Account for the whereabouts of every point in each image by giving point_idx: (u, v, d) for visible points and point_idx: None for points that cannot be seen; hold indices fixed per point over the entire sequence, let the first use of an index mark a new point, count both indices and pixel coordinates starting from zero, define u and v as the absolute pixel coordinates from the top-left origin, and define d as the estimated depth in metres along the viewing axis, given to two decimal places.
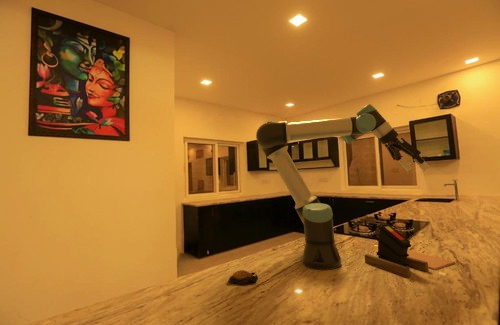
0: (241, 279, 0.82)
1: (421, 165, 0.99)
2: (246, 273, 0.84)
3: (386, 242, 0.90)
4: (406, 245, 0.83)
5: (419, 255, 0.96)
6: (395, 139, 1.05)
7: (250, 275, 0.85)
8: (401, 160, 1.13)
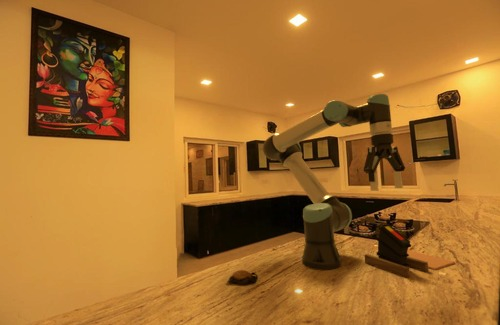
0: (241, 279, 0.82)
1: (371, 183, 0.89)
2: (246, 273, 0.84)
3: (386, 242, 0.90)
4: (406, 245, 0.83)
5: (419, 255, 0.96)
6: (375, 145, 0.91)
7: (250, 275, 0.85)
8: (396, 173, 0.94)
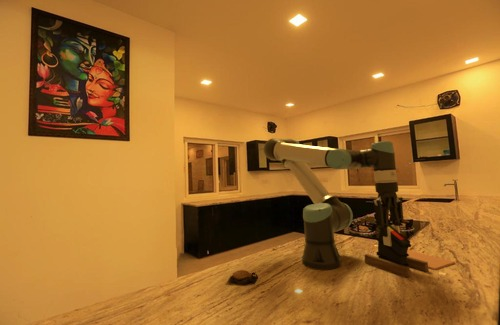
0: (240, 279, 0.82)
1: (384, 238, 0.89)
2: (246, 273, 0.84)
3: None
4: (406, 245, 0.83)
5: (419, 255, 0.96)
6: (379, 194, 0.89)
7: (250, 275, 0.85)
8: (394, 227, 0.90)
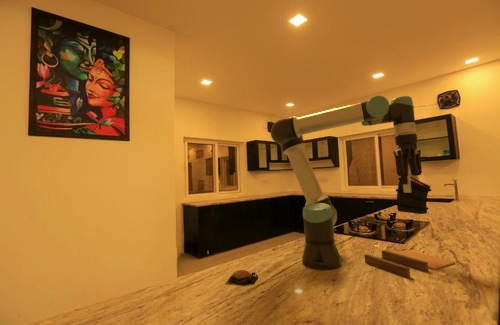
0: (240, 279, 0.83)
1: (404, 186, 0.95)
2: (246, 273, 0.84)
3: None
4: (427, 189, 0.89)
5: (419, 255, 0.96)
6: (400, 145, 0.95)
7: (250, 275, 0.85)
8: (413, 177, 0.97)
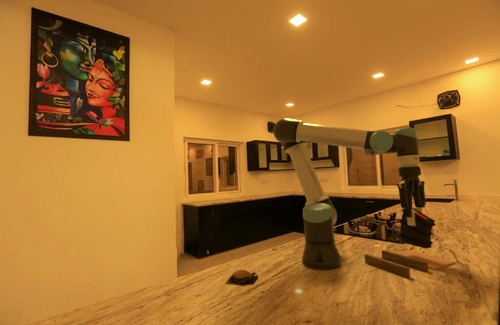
0: (240, 278, 0.83)
1: (408, 218, 0.94)
2: (246, 273, 0.84)
3: None
4: (431, 224, 0.88)
5: (419, 255, 0.96)
6: (403, 177, 0.95)
7: (250, 275, 0.85)
8: (417, 209, 0.96)
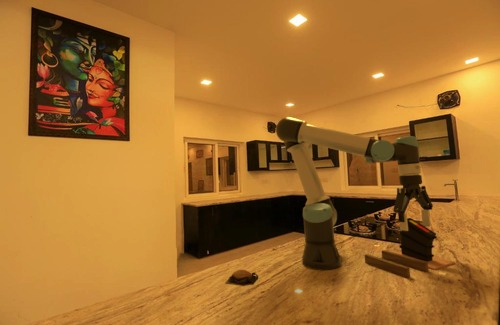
0: (240, 278, 0.83)
1: (400, 223, 0.93)
2: (245, 273, 0.84)
3: (411, 235, 0.95)
4: (433, 237, 0.88)
5: None
6: (404, 186, 0.94)
7: (250, 275, 0.85)
8: (424, 211, 0.97)
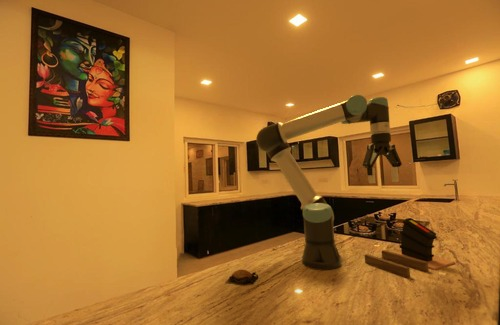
0: (239, 278, 0.83)
1: (369, 177, 1.00)
2: (245, 273, 0.84)
3: (411, 235, 0.95)
4: (433, 237, 0.88)
5: None
6: (374, 143, 1.02)
7: (250, 275, 0.85)
8: (393, 168, 1.05)
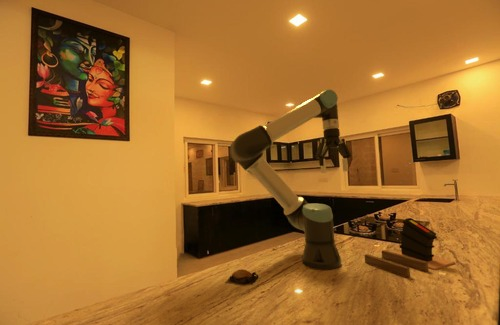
0: (239, 278, 0.83)
1: (321, 167, 1.14)
2: (245, 273, 0.84)
3: (411, 235, 0.95)
4: (433, 237, 0.88)
5: None
6: (325, 137, 1.16)
7: (250, 275, 0.85)
8: (343, 159, 1.19)
